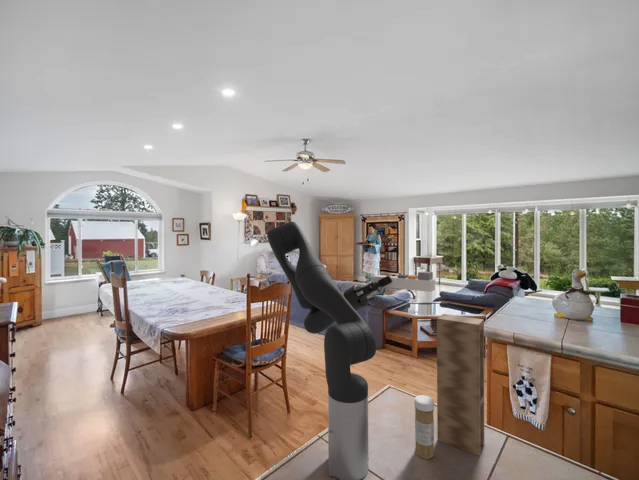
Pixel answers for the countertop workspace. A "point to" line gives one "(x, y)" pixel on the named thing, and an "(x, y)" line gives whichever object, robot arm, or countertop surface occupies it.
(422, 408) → the sprinkles bottle
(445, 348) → the tall wooden block
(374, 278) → the power strip
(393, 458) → the countertop surface
